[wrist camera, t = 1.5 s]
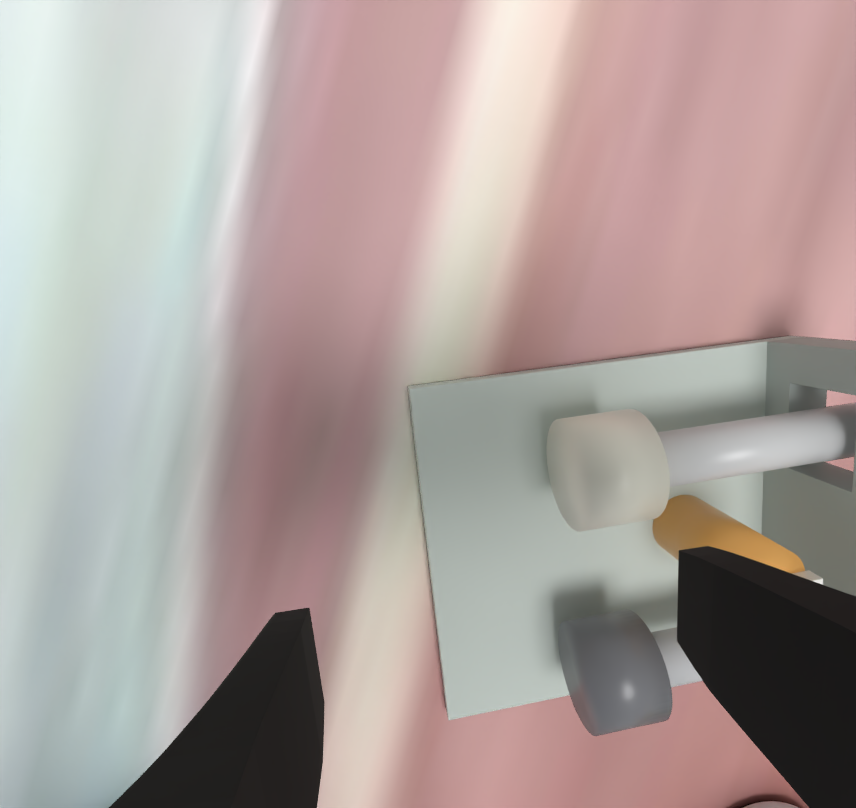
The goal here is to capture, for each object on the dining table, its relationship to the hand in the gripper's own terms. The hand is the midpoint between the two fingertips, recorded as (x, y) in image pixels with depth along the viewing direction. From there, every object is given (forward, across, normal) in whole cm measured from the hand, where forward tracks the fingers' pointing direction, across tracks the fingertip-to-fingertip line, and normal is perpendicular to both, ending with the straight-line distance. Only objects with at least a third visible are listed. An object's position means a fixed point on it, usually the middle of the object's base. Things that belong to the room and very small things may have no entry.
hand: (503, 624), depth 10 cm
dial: (+9, -10, +4) cm, 14 cm away
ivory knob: (+8, -9, 0) cm, 13 cm away
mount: (+10, -7, +4) cm, 12 cm away
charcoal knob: (+8, -10, +7) cm, 15 cm away
